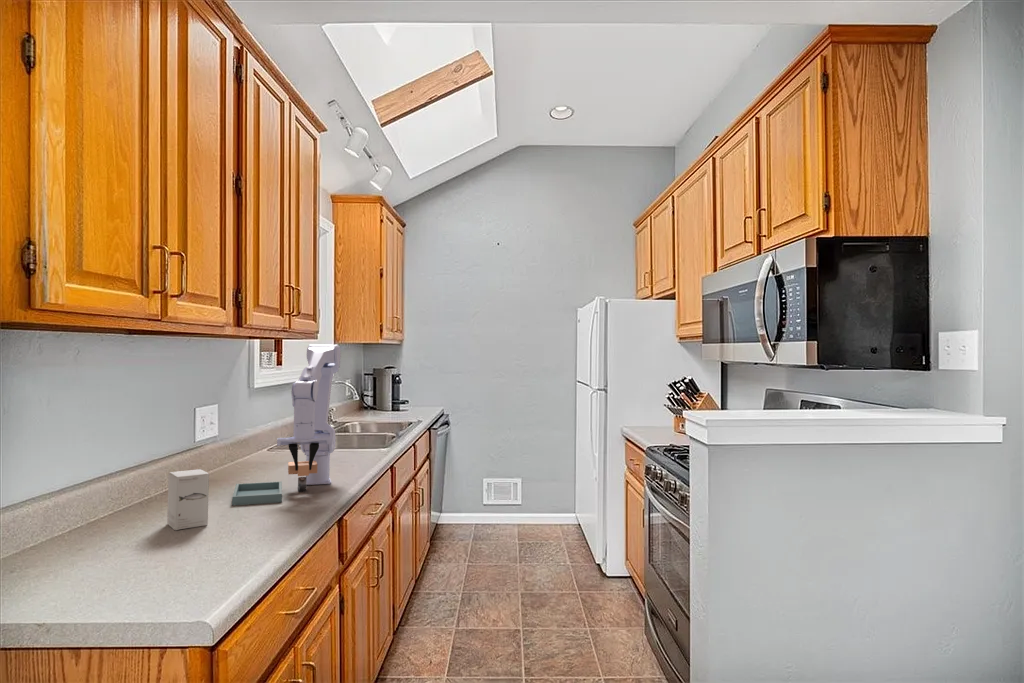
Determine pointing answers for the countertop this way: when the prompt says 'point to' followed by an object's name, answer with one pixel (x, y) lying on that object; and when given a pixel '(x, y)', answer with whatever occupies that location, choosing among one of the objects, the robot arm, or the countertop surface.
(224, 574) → the countertop surface
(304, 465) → the collar
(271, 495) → the tray
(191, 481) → the supplement box
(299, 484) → the grey metal cylinder
